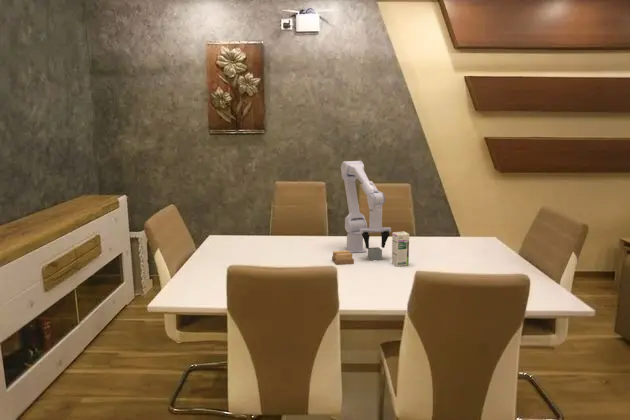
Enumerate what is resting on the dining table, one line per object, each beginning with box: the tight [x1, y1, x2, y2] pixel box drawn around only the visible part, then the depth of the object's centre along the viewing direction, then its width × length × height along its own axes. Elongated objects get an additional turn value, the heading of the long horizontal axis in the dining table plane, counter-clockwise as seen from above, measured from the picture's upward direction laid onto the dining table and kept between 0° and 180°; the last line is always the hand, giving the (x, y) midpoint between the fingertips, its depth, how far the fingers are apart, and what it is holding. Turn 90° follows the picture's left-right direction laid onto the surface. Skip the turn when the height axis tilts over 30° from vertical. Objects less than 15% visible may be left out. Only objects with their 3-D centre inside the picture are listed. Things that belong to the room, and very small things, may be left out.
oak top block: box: [332, 249, 353, 260], centre depth 245 cm, size 7×7×2 cm
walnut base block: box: [331, 255, 355, 266], centre depth 245 cm, size 8×8×2 cm
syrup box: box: [391, 231, 410, 267], centre depth 241 cm, size 6×6×14 cm
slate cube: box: [367, 246, 383, 262], centre depth 250 cm, size 5×5×5 cm
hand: (375, 247), depth 250 cm, fingers open, 7 cm apart
